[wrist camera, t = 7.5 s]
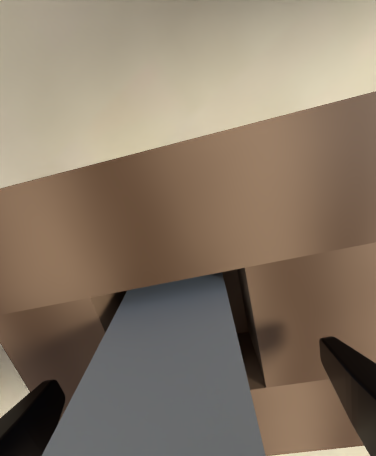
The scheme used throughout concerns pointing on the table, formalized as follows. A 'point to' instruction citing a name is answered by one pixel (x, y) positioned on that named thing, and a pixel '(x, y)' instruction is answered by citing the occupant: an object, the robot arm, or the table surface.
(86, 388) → the tenon peg
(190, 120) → the table surface
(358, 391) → the robot arm
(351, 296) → the mortise block
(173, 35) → the table surface
